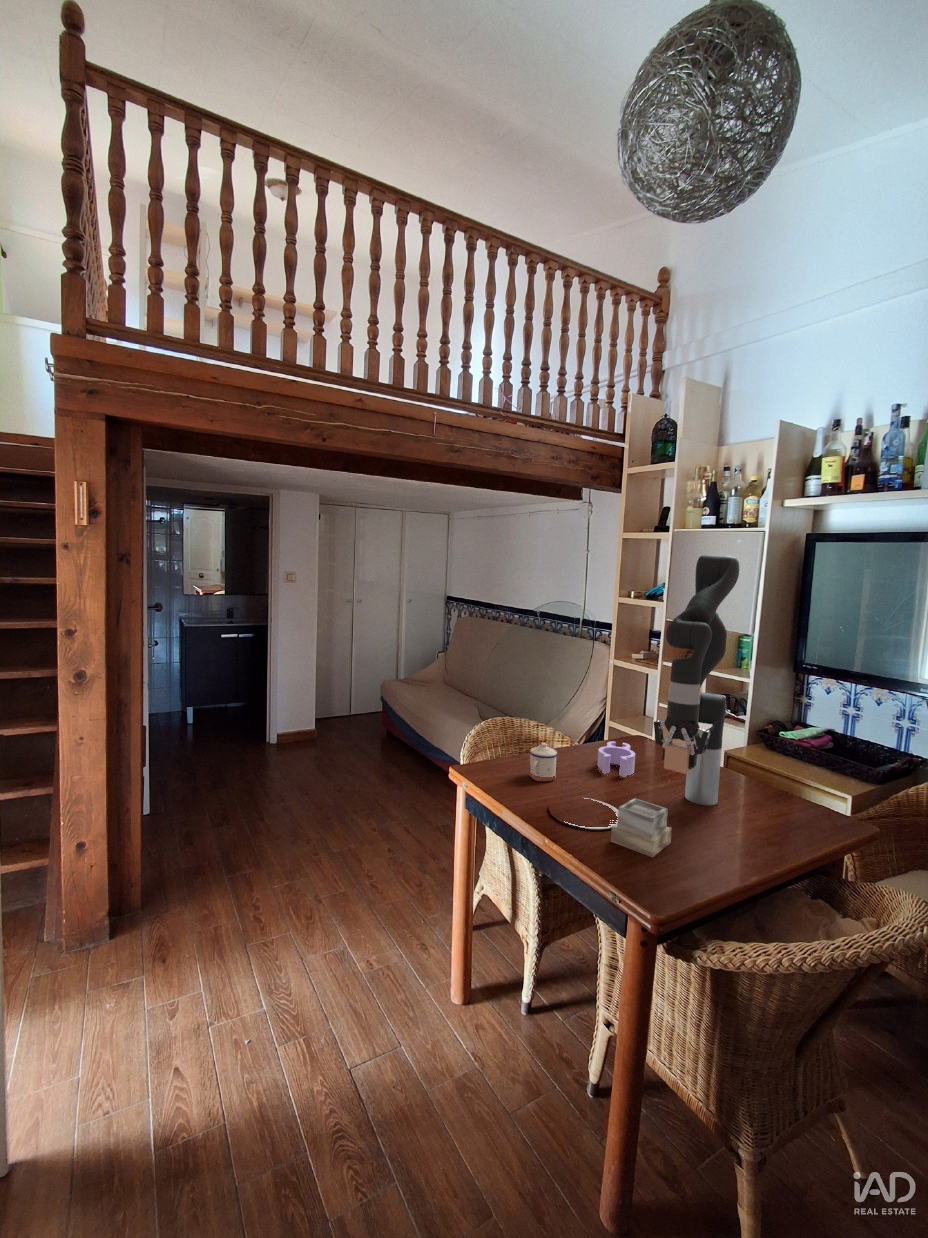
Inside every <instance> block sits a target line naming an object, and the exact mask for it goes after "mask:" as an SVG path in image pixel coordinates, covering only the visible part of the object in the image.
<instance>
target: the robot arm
mask: <svg viewBox="0 0 928 1238" xmlns="http://www.w3.org/2000/svg"><path fill="white" fill-rule="evenodd" d="M739 575H740V562H739V560H738V558H737V557H735V556H732V555H731V556H730V555H717V554H716V555H712V554H702V555H700V556H699V557H698V559H697V561H696V567H695V577H694V578H695V581H694V582H695V585H694V586H695V594H694V595H693V596H692V597H691V599H690V600H689V601H688V604H687V605H686V607H685V609H684V610H683V611H682V612H681V613H679V614H678V615H677V616H675V618H674V619H672V620H671V622H670V623H669V625H668V626H667V628H666V632H665V639H666V642H667V644H668V645H669V646H670V647H672V648H675V649H682V650H691V655H690V656H688V657H679V658H674V659H673V660H672V661H671V669H670V681H669V686H668V693H667V703H666V704H667V707H666V708H667V709H666V719H665V720H661V719H659V720H655V721H654V722H653V729H654V739H655V743H656V745H659V746H661V747H662V756H661V758H662V761H664V758H665V745H667V744H669V743H672V742H673V741H675V740H680V741H683V742H685V744H686V745H687V746H688V749H690V751H689V752H690V755H689V765H688V769H693V770H691V771H690V772H688V773H686V777H685V778H686V779H685V791H684V797H685V799H686V800H687V801H689V802H691V803H694V804H697V805H701V806H714V805H717V804H718V799H719V798H718V797H719V787H720V786H719V785H720V774H721V761H722V760H721V759H722V748H723V735H724V734H723V733H724V725H725V718H726V710H727V700H726V697H725V696H724V695H722V694H715V693H709V692H701V687H702V686H703V684H704V682H705V680H706V679H707V677H708V676H709V675H710V673H711V672H712V671H713V670H714V669H715V668H716V667H717V666H718V664H719V663H720V662H721V661H722V660H723V659H724V656H726V655H725V654H726V652H727V650H726V649H727V639H728V638H727V635H728V633H727V629H726V626H725V625H724V622H723V621H722V619H721V617H720V616H719V613H718V612H717V610H718V608H719V606H720V605H721V603H722V602H723V601H724V600H725V598H726V597H727V596H728V595H729V594H730V593H731V591H732V590H733V589H734V588H735V586H736V584H737V583H738V579H739ZM699 723H700V724H707V725H711V727H709V728H706V729H703V728H701V727H700V725H699ZM664 728H666V730H667V731H668V733H667V735H666V737H664ZM664 738H665V739H664Z"/></svg>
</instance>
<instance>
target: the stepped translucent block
mask: <svg viewBox="0 0 928 1238" xmlns="http://www.w3.org/2000/svg"><path fill="white" fill-rule="evenodd" d="M668 809H669V808H667V807H663V806H661V805H657V804H654V803H651V802H650V801H649V802H648V801H645V800H642V799H639V798H637V797H634V798H633V799H631V800H629V801H627V802H626V803H623V804H622V805H620V806H618V810H619V811H618V823H616V824H615V825H613V826H612V828H611V832H610V842H611V843H614V844H616V845H618V846H621V847H623V848H627V849H630V850H632V851H635V852H638V853H640V854H642V855H645V856H647V857H650V858H652V859H653V858H654V857H656V855H658V854H659V853H660V852H661V851H663V849H665V848H666V847H667V846H669V845H670V844H671V843H672V831H673V830H672V829H673V827H671V826H667V824H668V813H669V812H668Z"/></svg>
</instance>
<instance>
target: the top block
mask: <svg viewBox="0 0 928 1238" xmlns="http://www.w3.org/2000/svg"><path fill="white" fill-rule="evenodd" d="M689 751H690V749H688V746H687V745H686V743H683V742H680V741H675V740H673V742H672V743H669V744H667V745H665V758H664V760H663V769H665V770H668V771H673V772H677V773H680V774H684V775H687V773H688V772H690V771H691V770H693V769H688V765H689V755H690V752H689Z"/></svg>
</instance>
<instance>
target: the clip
mask: <svg viewBox="0 0 928 1238" xmlns="http://www.w3.org/2000/svg"><path fill="white" fill-rule="evenodd" d="M616 742H617V741H611V740H610V741H608V742H607V743H606V746H601V747H599V748H598V751H597V764H596V765H597V766H598V767H599V768H600V769H601V770H602V773H604V774H606V773H609V772H611V766H610V763H614V764H618V765H620V767H619V770H618V771H619V772H618V776H619V775H620V776H622V777H626V776H627V775H631V774H633V773H634V774H635V766H636V764H635V763H636V752H635V751H633V750H631V745H630V744H629V743H626V742H623V743H622V745H621V746H616ZM602 773H601V774H602ZM634 774H633V775H634ZM626 778H627V777H626Z"/></svg>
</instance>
